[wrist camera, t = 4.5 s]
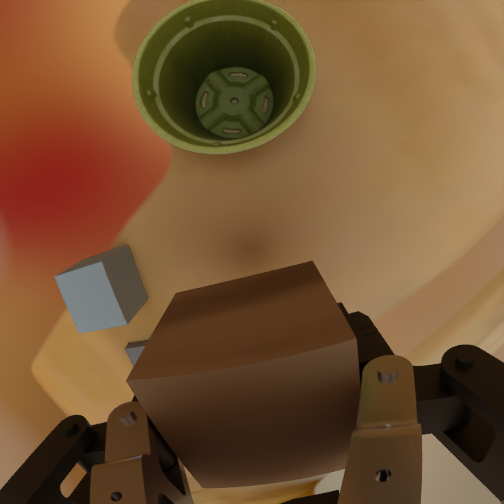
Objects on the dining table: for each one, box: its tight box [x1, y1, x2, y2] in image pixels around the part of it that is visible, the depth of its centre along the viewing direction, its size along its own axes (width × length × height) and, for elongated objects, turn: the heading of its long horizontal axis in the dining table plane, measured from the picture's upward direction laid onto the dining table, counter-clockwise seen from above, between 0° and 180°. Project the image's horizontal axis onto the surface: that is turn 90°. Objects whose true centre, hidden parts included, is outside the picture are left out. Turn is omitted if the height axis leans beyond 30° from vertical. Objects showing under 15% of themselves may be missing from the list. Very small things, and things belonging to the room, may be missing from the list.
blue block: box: [55, 245, 148, 333], centre depth 22 cm, size 5×5×5 cm
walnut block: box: [126, 261, 361, 488], centre depth 9 cm, size 5×5×5 cm
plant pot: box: [132, 0, 316, 155], centre depth 16 cm, size 9×9×9 cm
